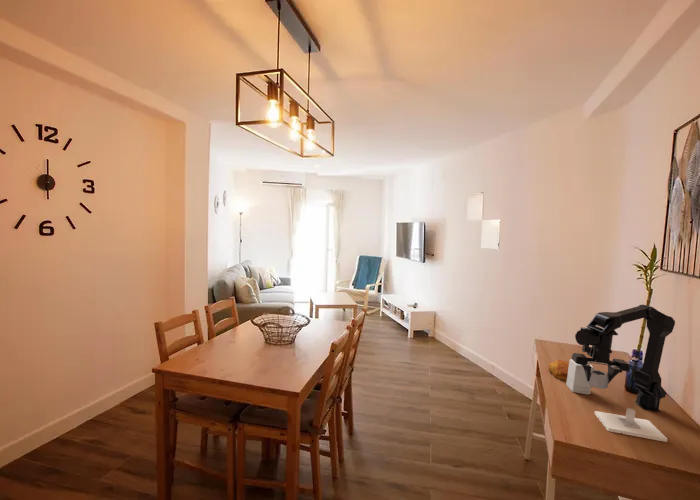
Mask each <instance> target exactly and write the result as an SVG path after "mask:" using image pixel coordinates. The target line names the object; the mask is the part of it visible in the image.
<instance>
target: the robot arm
mask: <svg viewBox="0 0 700 500" xmlns="http://www.w3.org/2000/svg"><path fill="white" fill-rule="evenodd" d="M641 319H644V320H645V321H646V329H647V330H648V333H649V336H648V340H647V345H646V347H645V348H646V350H645V354H644V359H643V362H642V363H643V364H642V366H641V367H640V368H638V369H635V370H634V374H633V377H632V378H633V382H634V385H635V388H636V389H637V390H638V392H637V393H636V399H635V401H634V403H636V404H637V406H639V407H640V408H641V409H643V410H648V411H653V412H657V413H658V412H659V413H660V412H662V410H661V409H660V404H661V403H660V402H661V400H662V399H665V398H666V395H667V391H666V390H665V389H664V388H663V386H662V377H661V374H660V372H659V368H660V364H661V360H662V354H663V351H664V346H665V342H666V338H667V337H668V336H669V335H670V334H672V333H673V331H674V328H675V325H676V321H675V319H674V317H672V316H669V315H667V314H666V313H663V312H661V311H659V310H657V309H656V308H654V307H653V306H651V305H646V304H639V305H638V306H633V307H631V308H626V309H623V310H620V311H615V312H613V311H611V312H610V311H602V312H601V311H600V312H598V313H596V314H595V315H594V317H593V318H592V320H590V322H589V323H588V324H587V325H586V327H580V329H579V330H578V331H576V333H575V335H574V338H575V341H576V343H577V344H579V345H580V346H582V347H581V349H582V350H581V351H582V353H578V352H574V353H572V355H571V359H572V360H573V361H574V362H575V363H576V364H580V365H582V366H583V368H584V371H585V375H586V379H587V381H589V379H590V374H591V366H590V365H591V364H597V365H603V366H607V372H606V373H607V374H608V375H609V380H608V385H609V384H610V383H611V381H612V380H613V379H614V378H615V377H616V376H618V374H619V373H621V374H622V373H623V372H627V373H630V371H631V365H630V363H628V362H627V361H625V360H624V359H621V358H620V359H619V358H612V360H610V358H611V354H613V350H612V346H613V345H612V344H613V337H614V336H618V335H619V333H618V332H617V331H616V330H617V329H618V330H619V329H620V328H622V325H623V324H626V323H630V322H634V321H637V320H641ZM584 353H586V355H585V354H584ZM587 356H589V357H587ZM590 363H591V364H590Z"/></svg>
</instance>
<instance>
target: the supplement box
mask: <svg viewBox="0 0 700 500" xmlns="http://www.w3.org/2000/svg"><path fill="white" fill-rule="evenodd" d="M568 362H569V368H568V375H567V381H566V384H565V385H566V386H567V388H569V390H570V391H571V392H572V393H576V394H583V395H589V394H590V395H591V391H592V386H591V385H589V384H588V383H587V379H586V375H585V371H584V368H583V366H582V365H580V364H576V363H575V362H574V361H573V360H572V358H570V359H569V361H568ZM590 366H591V369H594V370H595V367H594V366H593V365H592V364H590Z"/></svg>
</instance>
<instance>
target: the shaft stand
mask: <svg viewBox="0 0 700 500" xmlns="http://www.w3.org/2000/svg"><path fill="white" fill-rule="evenodd" d="M594 415H595V416H596V418H597V419H598V418H599V419H598V420H599V422H600V423H601V422H602V423H601V424H602V425H603V427H604V428H605V427H606V428H605V429H606V430H607V431H608V432H611V433H615V434H621V433H622V434H621V435H628V436H632V437H638V438H645V439H649V440H654V441H660V442H665V443H668V437H666V436H665V435H664V434H663V433H662V432H661V431H660V430H659V429H658V428H657V427H656V426H655V425H654V424H653V423H652V422H651V421H650V420H649V419H643V418H640V417H639V418H637V417H636V409H633V408H631V407H626V412H625V415H623V414H622V415H621V414H617V413H616V414H615V413H609V412H603V411H597V410H594Z"/></svg>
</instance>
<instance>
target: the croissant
mask: <svg viewBox="0 0 700 500" xmlns="http://www.w3.org/2000/svg"><path fill="white" fill-rule="evenodd" d="M568 368H569V361H565V360H562V359H561V360H560V359H557V360H555V361H553V362H551V363H549V364H548V372H549V373H550V374H551V375H552V376H553V377H554V378H557V379H558V380H561V381H566V382H567V375H568Z"/></svg>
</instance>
